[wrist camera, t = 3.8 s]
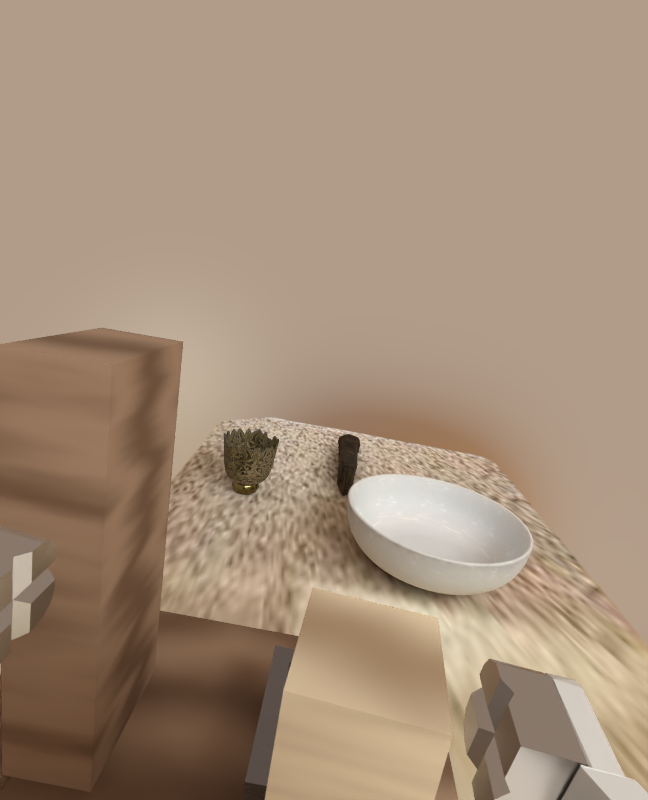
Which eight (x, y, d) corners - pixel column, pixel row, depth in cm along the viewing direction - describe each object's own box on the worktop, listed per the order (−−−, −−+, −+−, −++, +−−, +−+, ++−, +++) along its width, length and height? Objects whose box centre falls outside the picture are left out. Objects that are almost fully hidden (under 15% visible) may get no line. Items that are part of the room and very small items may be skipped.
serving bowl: (511, 547, 62) (525, 500, 60) (524, 656, 43) (545, 592, 41) (361, 502, 68) (370, 458, 66) (312, 580, 48) (323, 521, 47)
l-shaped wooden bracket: (473, 911, 24) (627, 461, 18) (-16, 814, 25) (-28, 348, 19) (427, 670, 39) (503, 381, 33) (124, 614, 40) (144, 320, 34)
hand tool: (336, 452, 87) (340, 428, 86) (357, 455, 87) (362, 432, 86) (325, 495, 69) (329, 466, 68) (351, 500, 69) (357, 471, 67)
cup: (282, 495, 66) (290, 442, 64) (238, 507, 60) (246, 450, 58) (250, 475, 71) (256, 425, 69) (207, 484, 65) (213, 430, 63)
